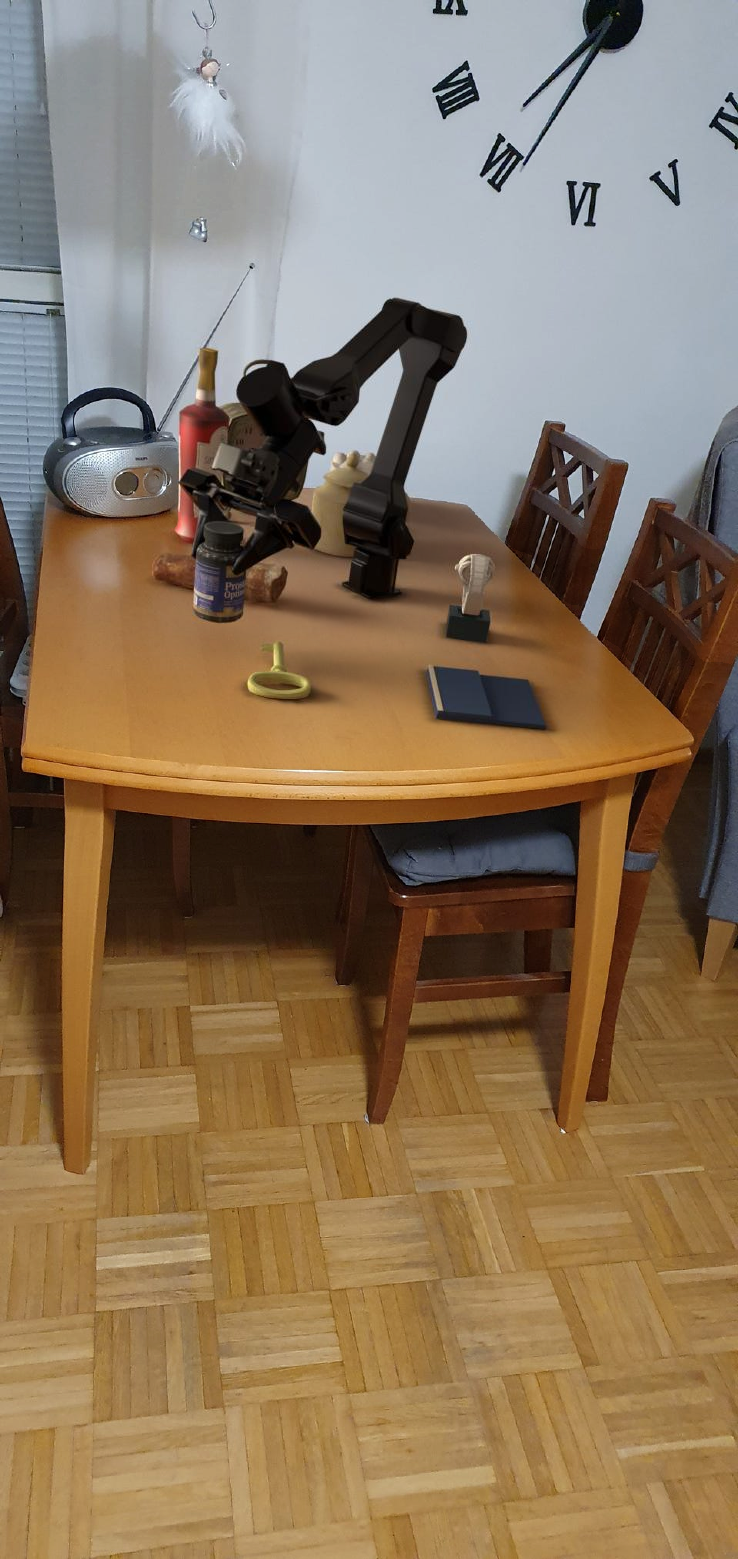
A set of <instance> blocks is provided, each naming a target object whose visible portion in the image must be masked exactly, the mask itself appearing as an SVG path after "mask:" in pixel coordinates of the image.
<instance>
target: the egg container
mask: <svg viewBox="0 0 738 1559" xmlns="http://www.w3.org/2000/svg"><path fill="white" fill-rule="evenodd" d="M352 452H355V453H356V454H357V456H358V459H359V464H358V465H357V467H356V469H358V470H361V471H364V472H366V473H367V474H369V475H370V473H371V470H372V467H373V464H374V461H375V458H376V455H375V454H374V452H367V453H366V454H361V453H360V452H359V451H358V450H355V449H354V450H351V451H349V452H348V454H345V453H344V452H336V453H335V454H334V455H333V458H332V460H331V462H330V468H329V473H330V472H331V471H332V470H334V469H338V468H347V467H348V465H347V462H346V460H347V457H348V456H349V454H351V453H352Z"/></svg>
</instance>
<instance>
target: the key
mask: <svg viewBox="0 0 738 1559" xmlns="http://www.w3.org/2000/svg"><path fill="white" fill-rule="evenodd" d="M261 652H271V653H273V665H272V667H271V669H270V670H263V671H255V672H254V673H252V674H250V675H249V676H248V680H247V689H248V691H249V692H250V693H252V694H254V695H257V696H260V697H264V698H270V699H279V700H299V699H303V698H306V697H308V696H310V693H311V682H310V680H309V679H308V678H306V677H305V676H303V675H300V674H298V673H293V672H288V668H286V666H285V665H284V664H285V662H284V661H285V660H284V659H285V658H284V644H283V643H282V642H281V641H276V642H275V643H274V644H272V643H261ZM261 683H281V684H287V685H293V686H296V687H299V688H297V689H292V690H281V689H280V690H279V689H273V688H268V687H265V686H262V685H261Z"/></svg>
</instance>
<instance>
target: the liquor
mask: <svg viewBox="0 0 738 1559" xmlns="http://www.w3.org/2000/svg"><path fill="white" fill-rule="evenodd" d="M218 359H219V350H218V349H217V348H211V347H199V350H198V368H199V373H198V379H197V386H196V393H195V401H194V403H192V404H189V405H186V406H185V407H184V408H182V409H181V410H180V411H179V415H178V416H179V418H178V419H179V420H178V421H179V422H178V431H179V432H178V476H179V477H178V482H179V481H180V479H181V478H182V476H183V475H184V473H185V472H186V470H187V469H190V468H197V469H200V470H203V471H206V472H209V473H212V474H215V475H216V476H217V478H218V479H219V481H220V482H221V483H222V477H223V472H221V471H219V470H213V469H211V468H210V467H211V465H212V462H213V459H214V456H215V453H216V450H217V448H218V445H219V442H222V443H225V444H227V438H228V429H229V420H230V417H229V416H228V415H227V413H226V412H225V411H224V410H222V409H221V408H219V407H220V406H217V402H216V400H217V399H216V370H217V366H218V361H219V360H218ZM177 512H178V515H177V520H178V521H177V525H176V526H175V527H174V531H175V533H176V534H177V535H178V536H179V538H180V539H181V540H182V541H184V542H185V543H188V544H191V545H193V543H194V538H195V533H196V529H197V524H198V517H199V508H198V507H197V506H196V505H195V504H194V502H193V501H192V500H191V498H190V497H189V496H188V495H187V493H186V492H185V491H184V489H183V488H182V487H181V485H180V484H179V483H178V511H177Z"/></svg>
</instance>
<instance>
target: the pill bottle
mask: <svg viewBox="0 0 738 1559" xmlns="http://www.w3.org/2000/svg"><path fill="white" fill-rule="evenodd" d="M244 532H245V529H244V527H242V526H241V525H239V524H237V523H234V522H231V521H229V522H222V521H215V522H209V523H207V524H205V525H204V537H205V542H204V543H202V544H200V545H199V547H198V548H197V552H196V568H195V584H194V589H193V604H192V611H193V613H194V614H195V616H196V617H198V618H199V619H201V620H204V621H208V622H210V623H215V624H216V623H217V624H228V623H233V622H236V621H238V620H240V619H241V618H242V617H243V614H244V607H245V600H244V596H245V584H246V571H247V570H246V571H244V572H242V573H241V574H239V575H234V574H233V572H232V567H233V565H234V563H235V561H236V559H237V557H238V556H239V554H240V553H241V551H242V549H243V548H244V546H243V545H242V542H243V540H244V536H245V535H244Z"/></svg>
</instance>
